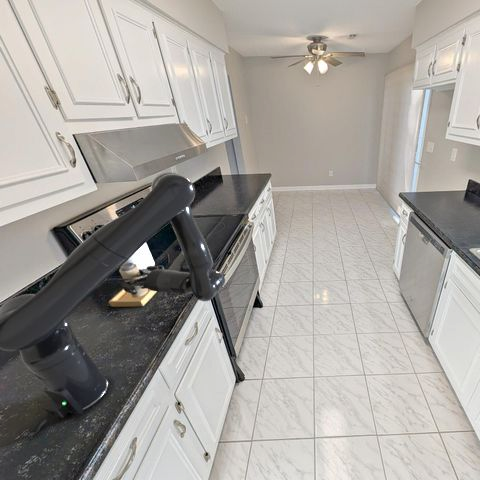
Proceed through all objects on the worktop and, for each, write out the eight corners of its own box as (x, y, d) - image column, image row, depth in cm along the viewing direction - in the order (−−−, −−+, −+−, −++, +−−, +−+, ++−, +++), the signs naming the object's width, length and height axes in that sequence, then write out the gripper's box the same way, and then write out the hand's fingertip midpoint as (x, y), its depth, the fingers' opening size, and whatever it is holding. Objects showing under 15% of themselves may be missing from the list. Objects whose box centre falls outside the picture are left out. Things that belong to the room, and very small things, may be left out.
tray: (143, 306, 102) (140, 301, 100) (111, 306, 103) (108, 301, 101) (170, 277, 119) (168, 272, 118) (142, 277, 120) (140, 273, 119)
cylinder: (123, 268, 128) (100, 223, 116) (150, 258, 136) (131, 215, 124) (130, 277, 120) (106, 230, 109) (158, 265, 128) (139, 220, 117)
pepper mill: (140, 298, 89) (126, 270, 84) (128, 296, 90) (114, 269, 85) (151, 289, 93) (138, 261, 88) (140, 288, 94) (127, 260, 89)
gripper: (177, 260, 90) (138, 257, 94) (145, 285, 77) (101, 280, 81) (184, 277, 93) (146, 273, 97) (154, 303, 81) (112, 298, 85)
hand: (126, 276), depth 89 cm, fingers closed on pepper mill, 5 cm apart
